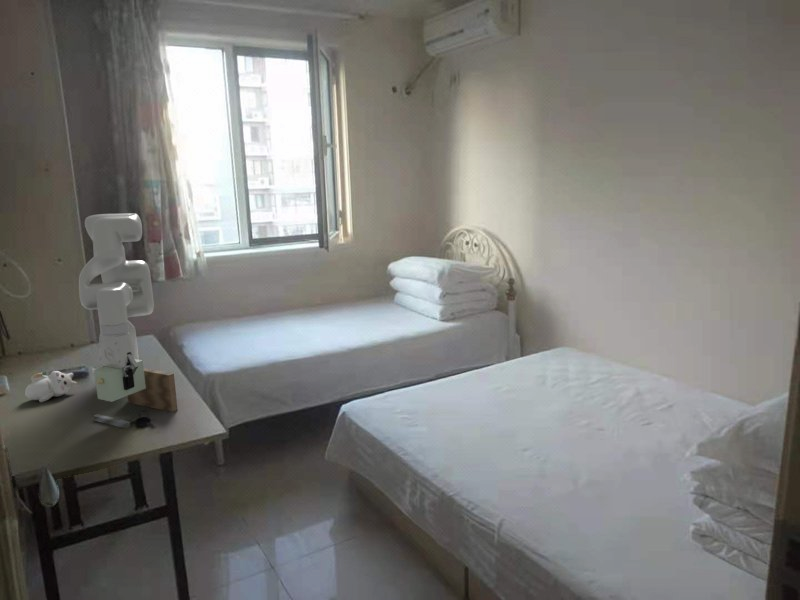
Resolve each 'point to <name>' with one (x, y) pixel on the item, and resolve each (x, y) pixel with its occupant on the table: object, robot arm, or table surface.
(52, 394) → the cat figurine
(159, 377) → the brown piece
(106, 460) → the table surface
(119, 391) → the pale green block
